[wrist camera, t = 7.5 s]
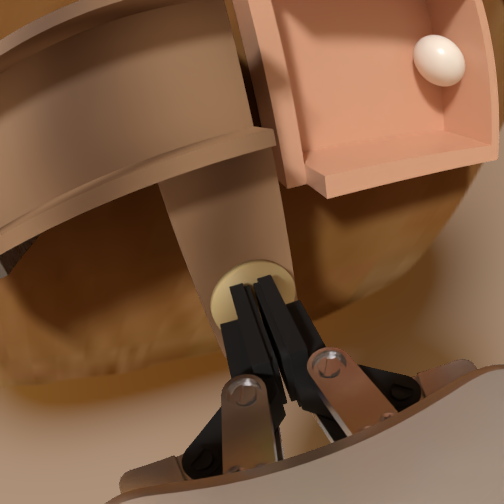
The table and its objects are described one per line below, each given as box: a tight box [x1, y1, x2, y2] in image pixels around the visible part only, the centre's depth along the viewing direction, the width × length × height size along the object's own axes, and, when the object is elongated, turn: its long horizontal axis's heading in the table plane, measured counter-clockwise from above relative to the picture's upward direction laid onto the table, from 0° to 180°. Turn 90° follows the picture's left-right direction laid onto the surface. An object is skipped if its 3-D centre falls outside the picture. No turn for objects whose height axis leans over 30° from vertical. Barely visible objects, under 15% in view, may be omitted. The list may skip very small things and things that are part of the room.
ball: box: [413, 35, 465, 87], centre depth 12 cm, size 3×3×3 cm
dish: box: [232, 0, 499, 199], centre depth 11 cm, size 14×12×5 cm
